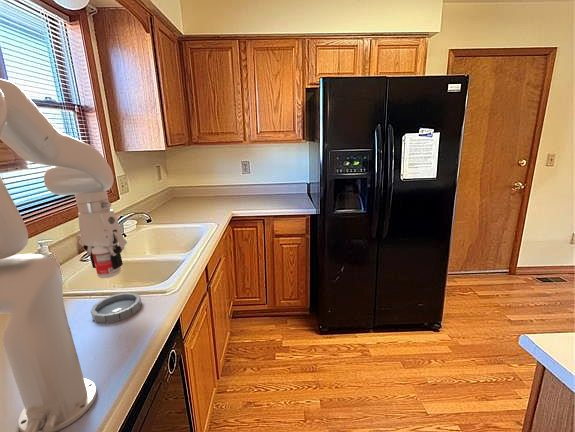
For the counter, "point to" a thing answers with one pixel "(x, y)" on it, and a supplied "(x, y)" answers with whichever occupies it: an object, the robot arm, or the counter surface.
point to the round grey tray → (116, 307)
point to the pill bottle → (104, 262)
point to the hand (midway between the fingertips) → (107, 266)
